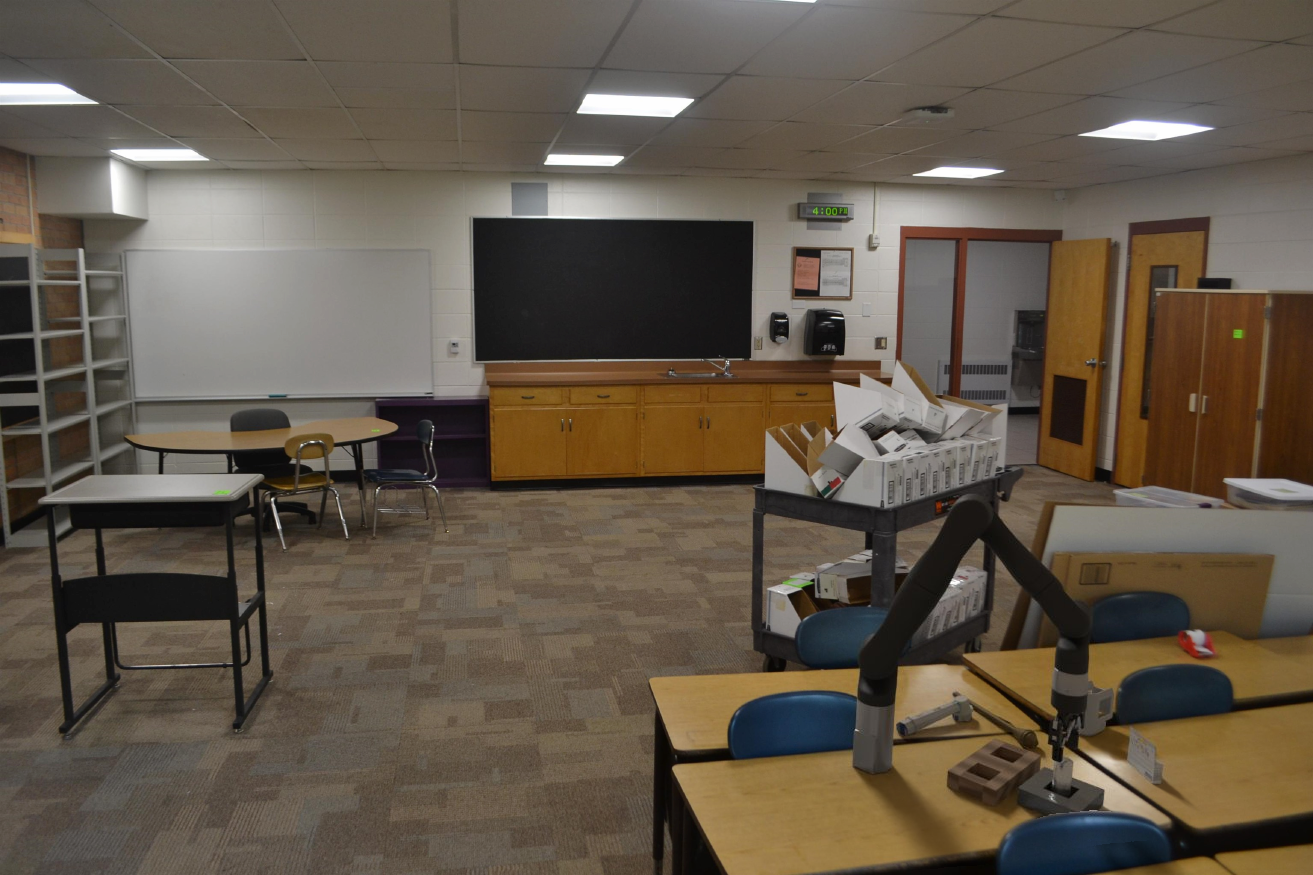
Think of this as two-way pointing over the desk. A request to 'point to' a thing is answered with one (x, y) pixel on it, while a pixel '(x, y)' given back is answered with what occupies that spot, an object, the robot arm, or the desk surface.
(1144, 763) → the ink cartridge box
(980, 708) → the brown knobbed rod
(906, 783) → the desk surface
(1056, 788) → the grey tall bar
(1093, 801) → the socket block
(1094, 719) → the cable organizer
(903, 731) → the grey piece
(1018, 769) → the rack
